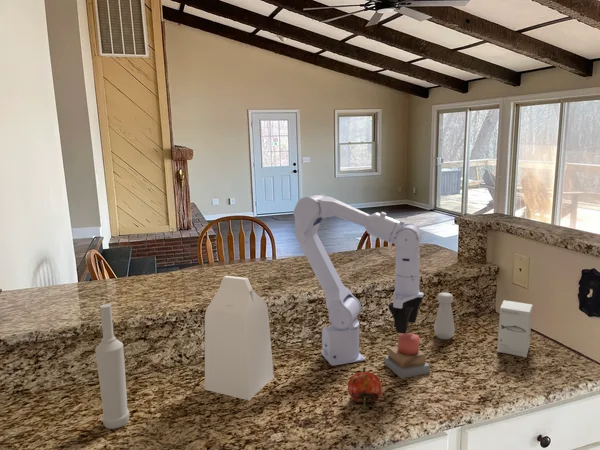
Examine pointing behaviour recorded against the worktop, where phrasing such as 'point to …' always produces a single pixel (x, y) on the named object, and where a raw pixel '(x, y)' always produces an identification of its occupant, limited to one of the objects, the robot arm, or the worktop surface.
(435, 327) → the salt shaker
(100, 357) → the bottle
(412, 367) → the tower base block
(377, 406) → the worktop surface
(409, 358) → the tower top block
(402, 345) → the red rounded block
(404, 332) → the robot arm
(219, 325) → the milk
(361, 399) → the red apple
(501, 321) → the supplement box
